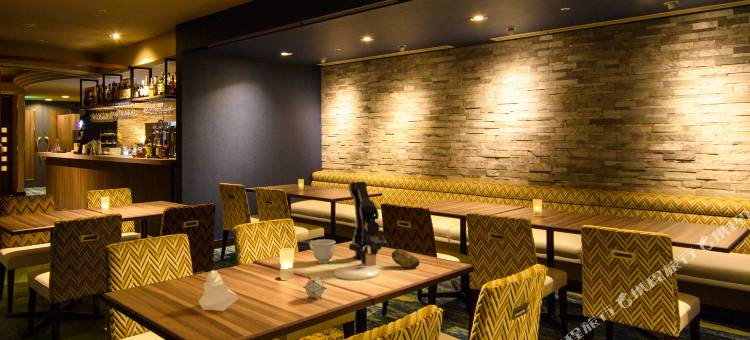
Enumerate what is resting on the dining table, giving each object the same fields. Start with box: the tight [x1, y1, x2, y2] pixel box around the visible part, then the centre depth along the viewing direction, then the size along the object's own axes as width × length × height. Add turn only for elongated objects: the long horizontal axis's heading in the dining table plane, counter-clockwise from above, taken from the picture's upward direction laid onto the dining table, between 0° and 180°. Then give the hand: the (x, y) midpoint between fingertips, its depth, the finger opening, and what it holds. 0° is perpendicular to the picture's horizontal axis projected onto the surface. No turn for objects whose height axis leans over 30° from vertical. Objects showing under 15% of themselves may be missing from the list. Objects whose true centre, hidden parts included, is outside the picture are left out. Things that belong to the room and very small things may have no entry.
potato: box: [391, 248, 420, 269], centre depth 254 cm, size 8×13×8 cm, turn 49°
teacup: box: [308, 238, 336, 264], centre depth 265 cm, size 12×15×10 cm
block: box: [360, 252, 377, 267], centre depth 258 cm, size 5×5×5 cm
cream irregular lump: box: [198, 270, 239, 312], centre depth 198 cm, size 12×15×14 cm
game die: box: [302, 276, 328, 300], centre depth 207 cm, size 9×8×10 cm
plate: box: [333, 265, 380, 281], centre depth 242 cm, size 20×20×1 cm
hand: (368, 262), depth 258 cm, fingers closed on block, 5 cm apart
